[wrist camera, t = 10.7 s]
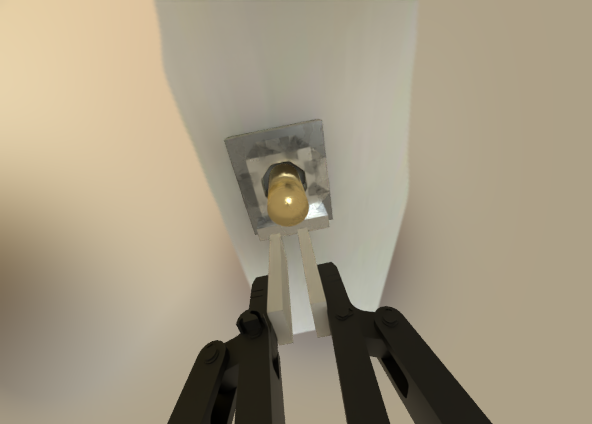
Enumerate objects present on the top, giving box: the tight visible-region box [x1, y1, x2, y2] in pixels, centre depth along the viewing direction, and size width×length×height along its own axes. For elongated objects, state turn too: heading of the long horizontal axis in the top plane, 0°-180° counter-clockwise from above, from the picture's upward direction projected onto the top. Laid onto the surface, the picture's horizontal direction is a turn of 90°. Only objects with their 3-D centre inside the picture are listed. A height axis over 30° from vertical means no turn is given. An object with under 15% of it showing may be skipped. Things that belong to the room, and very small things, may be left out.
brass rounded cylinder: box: [267, 163, 309, 227], centre depth 26 cm, size 4×4×10 cm
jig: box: [224, 119, 333, 241], centre depth 28 cm, size 14×12×5 cm
